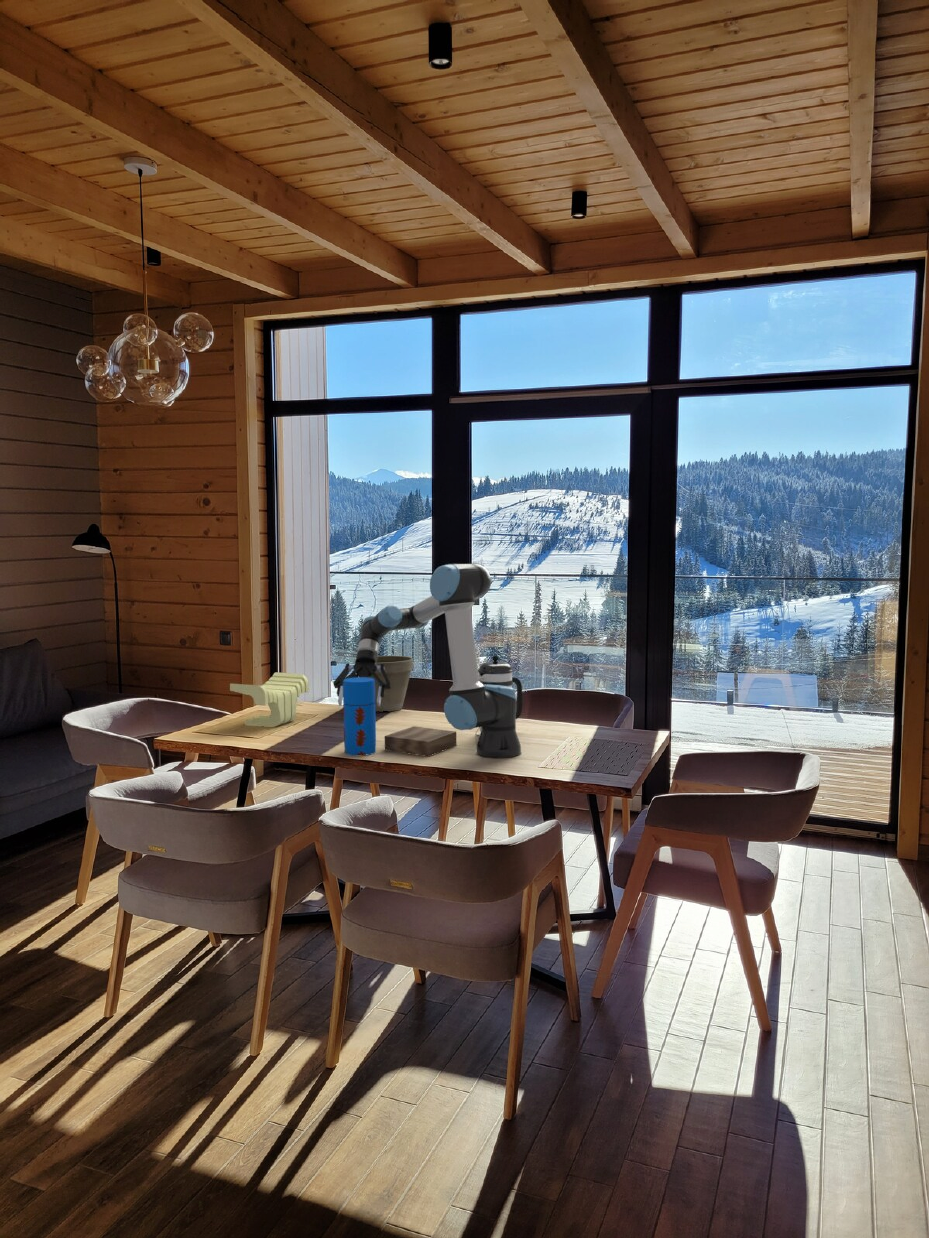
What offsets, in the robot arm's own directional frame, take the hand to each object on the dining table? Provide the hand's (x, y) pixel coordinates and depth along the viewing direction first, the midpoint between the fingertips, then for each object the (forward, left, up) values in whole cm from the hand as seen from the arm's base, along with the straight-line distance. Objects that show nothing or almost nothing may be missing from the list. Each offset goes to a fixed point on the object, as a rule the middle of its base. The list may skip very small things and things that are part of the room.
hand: (358, 703), depth 314 cm
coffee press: (-31, -43, -16) cm, 55 cm away
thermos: (-2, +2, -16) cm, 17 cm away
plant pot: (+36, -65, -16) cm, 76 cm away
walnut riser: (-17, -13, -16) cm, 27 cm away
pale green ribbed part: (+58, -19, -16) cm, 63 cm away
